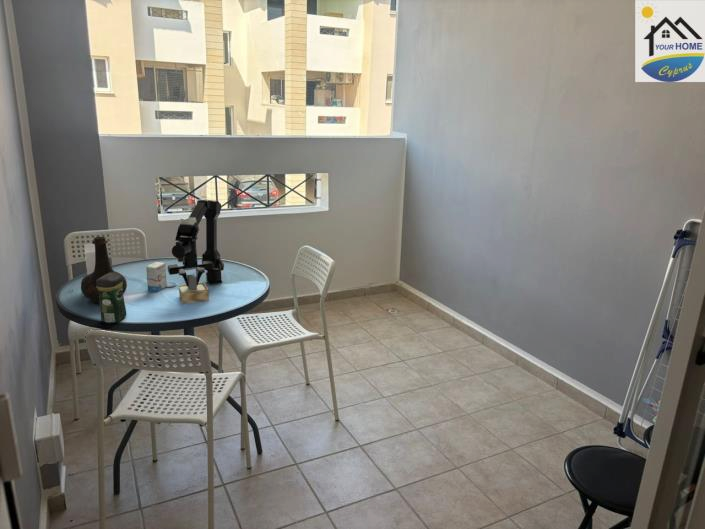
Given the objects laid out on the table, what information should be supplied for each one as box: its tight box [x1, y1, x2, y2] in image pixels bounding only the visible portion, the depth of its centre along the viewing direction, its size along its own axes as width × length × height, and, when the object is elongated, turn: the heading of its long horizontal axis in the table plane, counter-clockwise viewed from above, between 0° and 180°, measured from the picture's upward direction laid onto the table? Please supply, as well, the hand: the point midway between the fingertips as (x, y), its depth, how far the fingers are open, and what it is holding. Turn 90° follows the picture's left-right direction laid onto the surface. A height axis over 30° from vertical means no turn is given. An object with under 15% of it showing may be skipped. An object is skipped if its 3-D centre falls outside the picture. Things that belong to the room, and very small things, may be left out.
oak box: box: [178, 282, 210, 305], centre depth 227 cm, size 11×10×5 cm
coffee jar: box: [96, 272, 128, 324], centre depth 202 cm, size 10×8×19 cm
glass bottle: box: [80, 236, 128, 304], centre depth 220 cm, size 18×18×28 cm
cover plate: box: [178, 273, 205, 293], centre depth 226 cm, size 10×8×6 cm
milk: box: [83, 243, 95, 275], centre depth 231 cm, size 6×6×22 cm
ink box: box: [145, 261, 168, 293], centre depth 237 cm, size 9×5×12 cm, turn 168°
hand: (192, 286), depth 226 cm, fingers open, 4 cm apart
